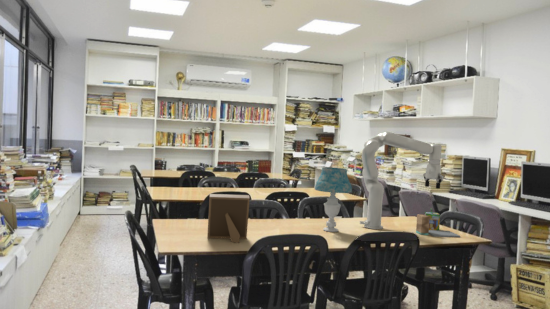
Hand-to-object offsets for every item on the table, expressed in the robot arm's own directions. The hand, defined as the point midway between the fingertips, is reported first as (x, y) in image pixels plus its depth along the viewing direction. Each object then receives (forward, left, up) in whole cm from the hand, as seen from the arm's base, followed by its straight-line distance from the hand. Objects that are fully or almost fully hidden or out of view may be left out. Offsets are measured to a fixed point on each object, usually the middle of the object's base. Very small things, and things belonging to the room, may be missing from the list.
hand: (432, 187), depth 317 cm
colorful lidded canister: (+3, +3, -30) cm, 30 cm away
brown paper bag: (-10, -12, -30) cm, 33 cm away
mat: (+3, -12, -29) cm, 32 cm away
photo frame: (-137, -47, -30) cm, 148 cm away
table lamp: (-71, -12, -30) cm, 78 cm away
